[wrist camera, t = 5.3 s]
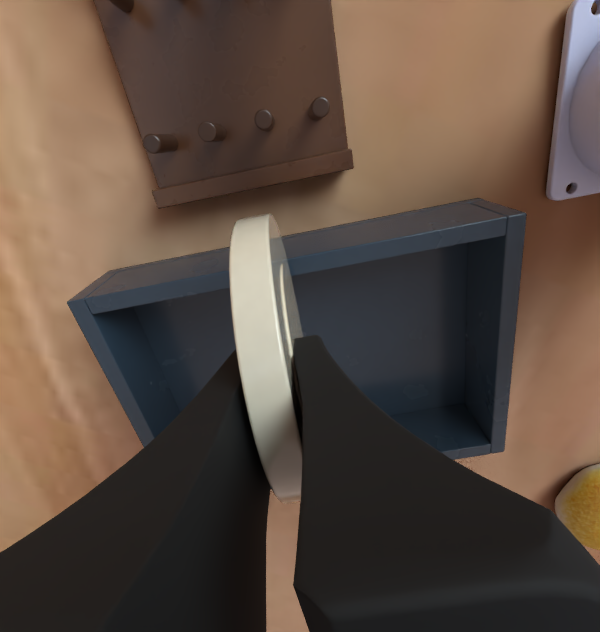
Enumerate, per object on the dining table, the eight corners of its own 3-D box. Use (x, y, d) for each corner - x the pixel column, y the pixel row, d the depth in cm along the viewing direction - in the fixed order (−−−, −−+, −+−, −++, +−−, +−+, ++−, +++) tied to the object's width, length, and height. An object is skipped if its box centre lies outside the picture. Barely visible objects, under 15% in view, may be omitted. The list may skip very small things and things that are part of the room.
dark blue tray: (478, 197, 18) (527, 212, 14) (471, 404, 24) (504, 452, 20) (108, 270, 19) (65, 302, 15) (190, 451, 25) (174, 504, 21)
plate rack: (312, -133, 13) (320, -208, 10) (348, 165, 17) (360, 171, 14) (73, -73, 13) (16, -128, 10) (167, 203, 18) (146, 215, 15)
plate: (275, 192, 12) (260, 266, 5) (313, 376, 16) (334, 569, 9) (247, 198, 12) (195, 279, 5) (291, 380, 16) (295, 575, 9)
